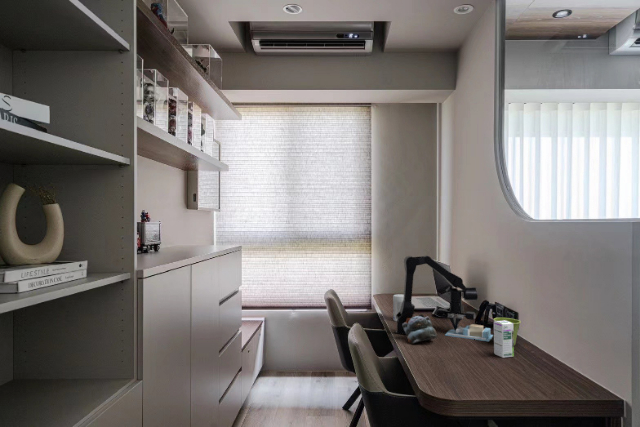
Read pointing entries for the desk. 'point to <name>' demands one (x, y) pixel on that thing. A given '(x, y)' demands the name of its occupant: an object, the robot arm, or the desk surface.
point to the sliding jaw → (463, 330)
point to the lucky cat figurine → (419, 329)
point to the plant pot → (515, 325)
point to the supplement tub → (397, 304)
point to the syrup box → (503, 339)
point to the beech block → (476, 330)
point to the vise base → (485, 336)
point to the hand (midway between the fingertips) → (455, 330)
